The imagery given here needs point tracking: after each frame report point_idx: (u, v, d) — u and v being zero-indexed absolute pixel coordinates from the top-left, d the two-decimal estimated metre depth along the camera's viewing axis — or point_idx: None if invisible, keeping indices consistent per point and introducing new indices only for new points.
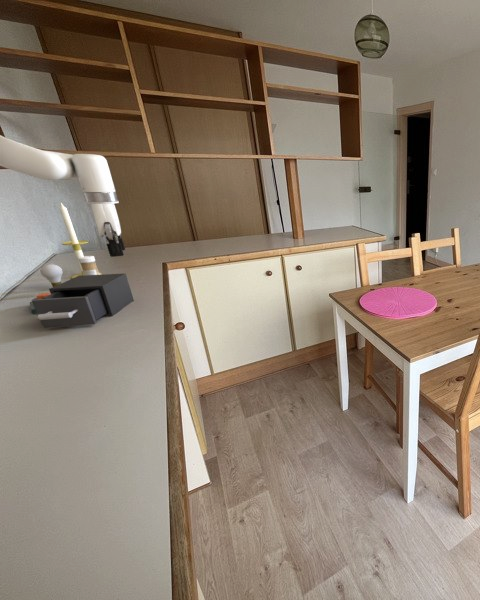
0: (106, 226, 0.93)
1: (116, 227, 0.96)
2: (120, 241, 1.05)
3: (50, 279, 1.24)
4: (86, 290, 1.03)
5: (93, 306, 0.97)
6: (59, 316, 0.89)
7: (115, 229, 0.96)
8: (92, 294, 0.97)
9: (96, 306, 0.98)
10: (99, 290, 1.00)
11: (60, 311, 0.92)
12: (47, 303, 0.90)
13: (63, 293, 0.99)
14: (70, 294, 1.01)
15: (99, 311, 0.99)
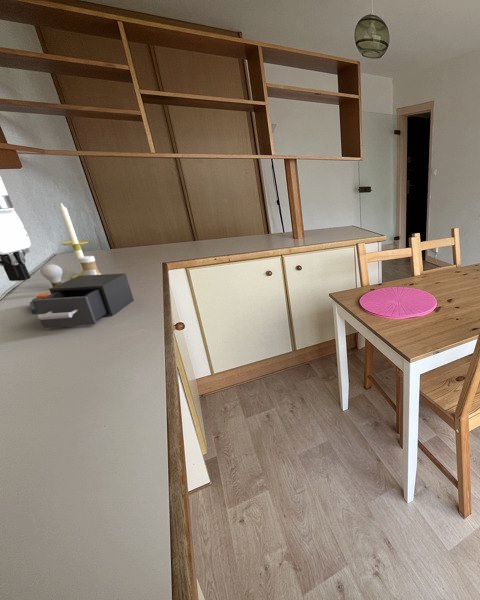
0: None
1: None
2: None
3: (50, 279, 1.24)
4: (86, 290, 1.03)
5: (93, 306, 0.97)
6: (59, 316, 0.89)
7: (3, 253, 0.74)
8: (92, 294, 0.97)
9: (96, 306, 0.98)
10: (99, 290, 1.00)
11: (60, 311, 0.92)
12: (47, 303, 0.90)
13: (63, 293, 0.99)
14: (70, 294, 1.01)
15: (99, 311, 0.99)
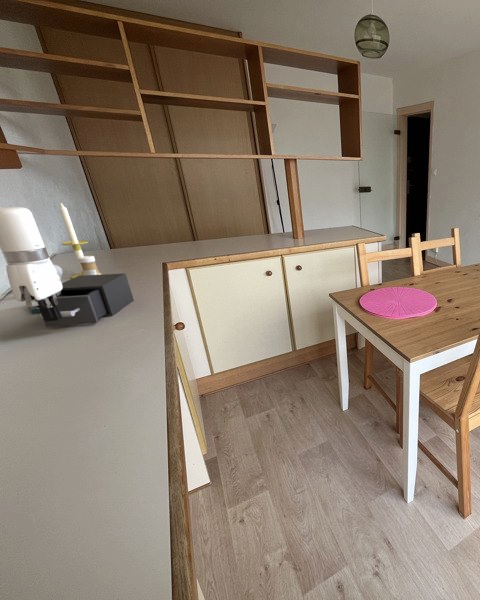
0: (26, 296, 0.81)
1: (35, 292, 0.81)
2: None
3: None
4: (88, 289, 1.04)
5: (95, 305, 0.98)
6: (62, 315, 0.90)
7: (40, 299, 0.83)
8: (94, 293, 0.98)
9: (98, 305, 0.99)
10: None
11: (62, 310, 0.93)
12: None
13: (65, 292, 0.99)
14: (72, 293, 1.02)
15: (101, 310, 1.00)
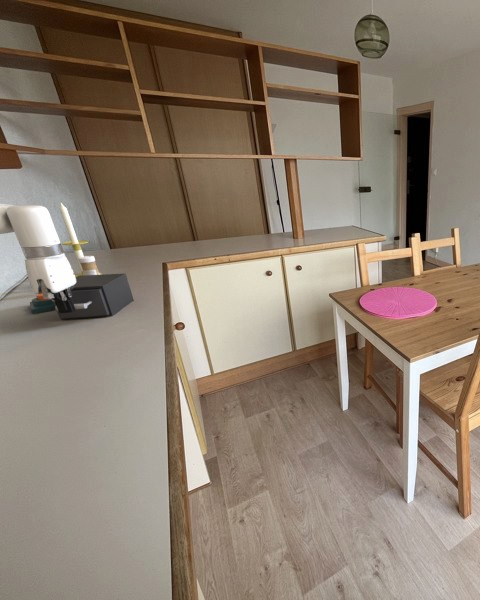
0: (43, 289, 0.86)
1: (51, 285, 0.86)
2: None
3: None
4: None
5: None
6: (75, 307, 0.95)
7: None
8: None
9: None
10: None
11: (75, 303, 0.98)
12: None
13: None
14: None
15: None
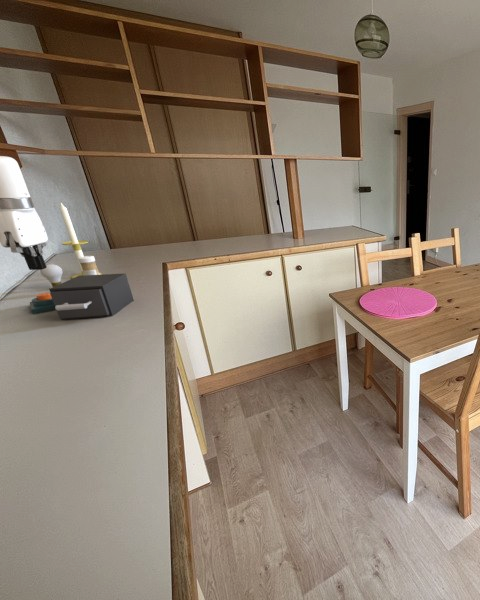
0: (11, 242, 0.85)
1: (19, 238, 0.85)
2: None
3: (50, 279, 1.24)
4: None
5: None
6: (75, 307, 0.95)
7: (24, 246, 0.87)
8: None
9: None
10: None
11: (75, 303, 0.98)
12: (63, 295, 0.97)
13: None
14: None
15: None
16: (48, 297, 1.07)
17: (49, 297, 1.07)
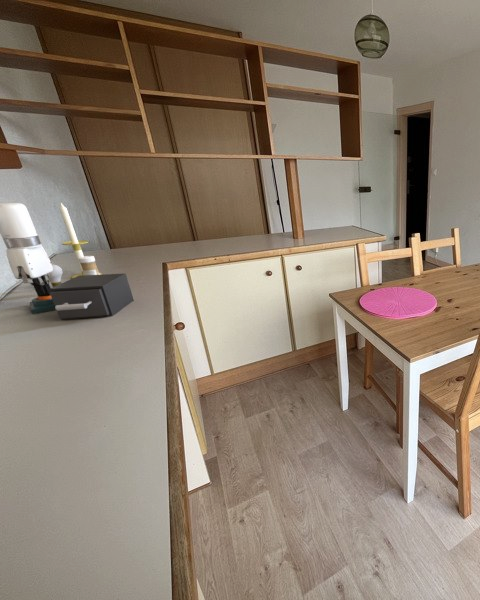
0: (23, 275, 1.00)
1: (30, 271, 1.00)
2: None
3: (50, 279, 1.24)
4: None
5: None
6: (75, 307, 0.95)
7: (34, 277, 1.02)
8: None
9: None
10: None
11: (75, 303, 0.98)
12: (63, 295, 0.97)
13: None
14: None
15: None
16: (49, 298, 1.07)
17: (50, 298, 1.07)
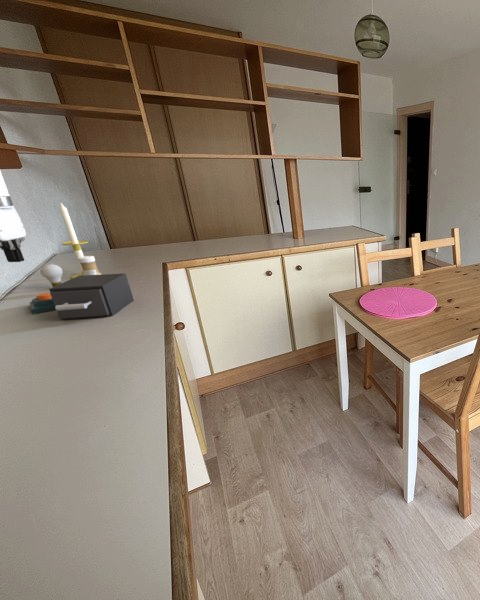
0: None
1: None
2: None
3: (50, 279, 1.24)
4: None
5: None
6: (75, 307, 0.95)
7: (3, 240, 0.96)
8: None
9: None
10: None
11: (75, 303, 0.98)
12: (63, 295, 0.97)
13: None
14: None
15: None
16: (48, 297, 1.07)
17: (49, 297, 1.07)
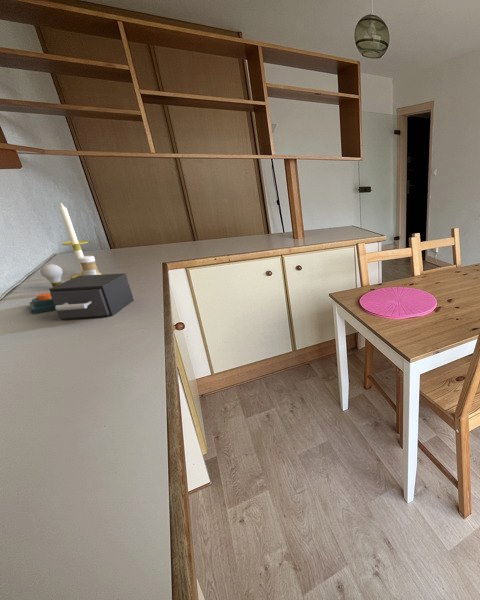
0: None
1: None
2: None
3: (50, 279, 1.24)
4: None
5: None
6: (75, 307, 0.95)
7: None
8: None
9: None
10: None
11: (75, 303, 0.98)
12: (63, 295, 0.97)
13: None
14: None
15: None
16: (48, 297, 1.07)
17: (49, 297, 1.07)
